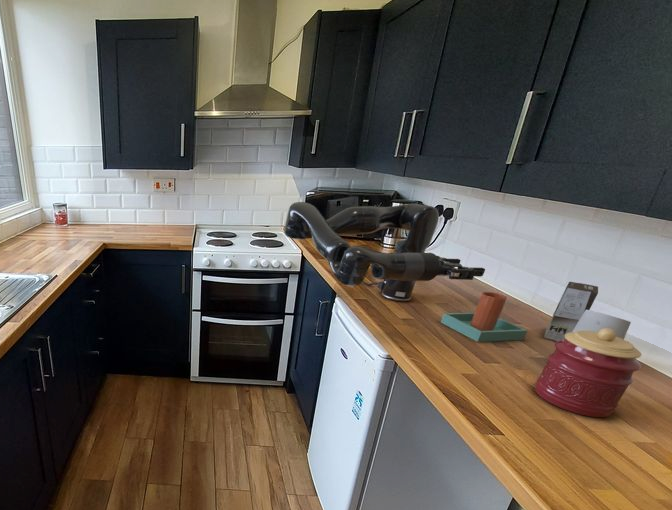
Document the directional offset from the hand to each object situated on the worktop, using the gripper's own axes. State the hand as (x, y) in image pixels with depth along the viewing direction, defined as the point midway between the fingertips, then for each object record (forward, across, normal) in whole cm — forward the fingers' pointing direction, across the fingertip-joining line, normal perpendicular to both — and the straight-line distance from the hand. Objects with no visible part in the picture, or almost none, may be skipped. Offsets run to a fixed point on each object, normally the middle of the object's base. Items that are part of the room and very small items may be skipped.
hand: (470, 267), depth 108 cm
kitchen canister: (+6, +31, -22) cm, 38 cm away
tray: (+15, -5, -22) cm, 27 cm away
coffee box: (+36, -1, -22) cm, 43 cm away
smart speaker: (+30, +13, -22) cm, 39 cm away
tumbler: (+15, -5, -21) cm, 26 cm away
